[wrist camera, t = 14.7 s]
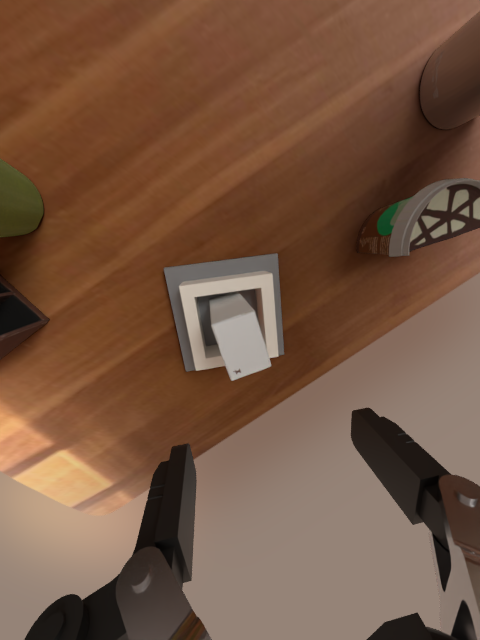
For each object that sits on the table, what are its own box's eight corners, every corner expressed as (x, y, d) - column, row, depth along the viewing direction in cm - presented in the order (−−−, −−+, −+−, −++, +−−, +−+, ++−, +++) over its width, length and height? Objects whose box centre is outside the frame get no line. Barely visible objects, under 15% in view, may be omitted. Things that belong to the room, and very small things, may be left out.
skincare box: (250, 328, 33) (273, 368, 21) (222, 337, 33) (230, 383, 21) (237, 288, 31) (255, 309, 19) (208, 298, 31) (208, 325, 19)
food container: (422, 184, 32) (514, 156, 22) (424, 230, 34) (509, 221, 24) (341, 211, 31) (399, 194, 22) (347, 255, 33) (403, 257, 24)
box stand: (274, 253, 32) (287, 253, 26) (281, 350, 36) (293, 367, 31) (165, 267, 30) (156, 270, 25) (186, 366, 35) (183, 387, 30)
